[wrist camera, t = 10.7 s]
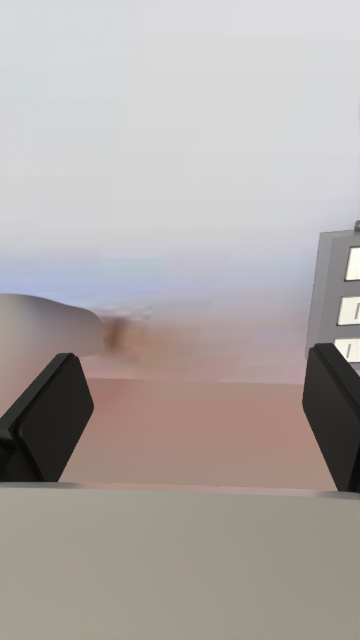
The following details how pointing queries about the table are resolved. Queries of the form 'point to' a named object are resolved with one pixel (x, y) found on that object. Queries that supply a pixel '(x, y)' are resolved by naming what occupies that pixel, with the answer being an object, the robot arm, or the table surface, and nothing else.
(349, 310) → the middle button
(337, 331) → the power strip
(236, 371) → the table surface
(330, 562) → the robot arm
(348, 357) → the button
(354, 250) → the button
